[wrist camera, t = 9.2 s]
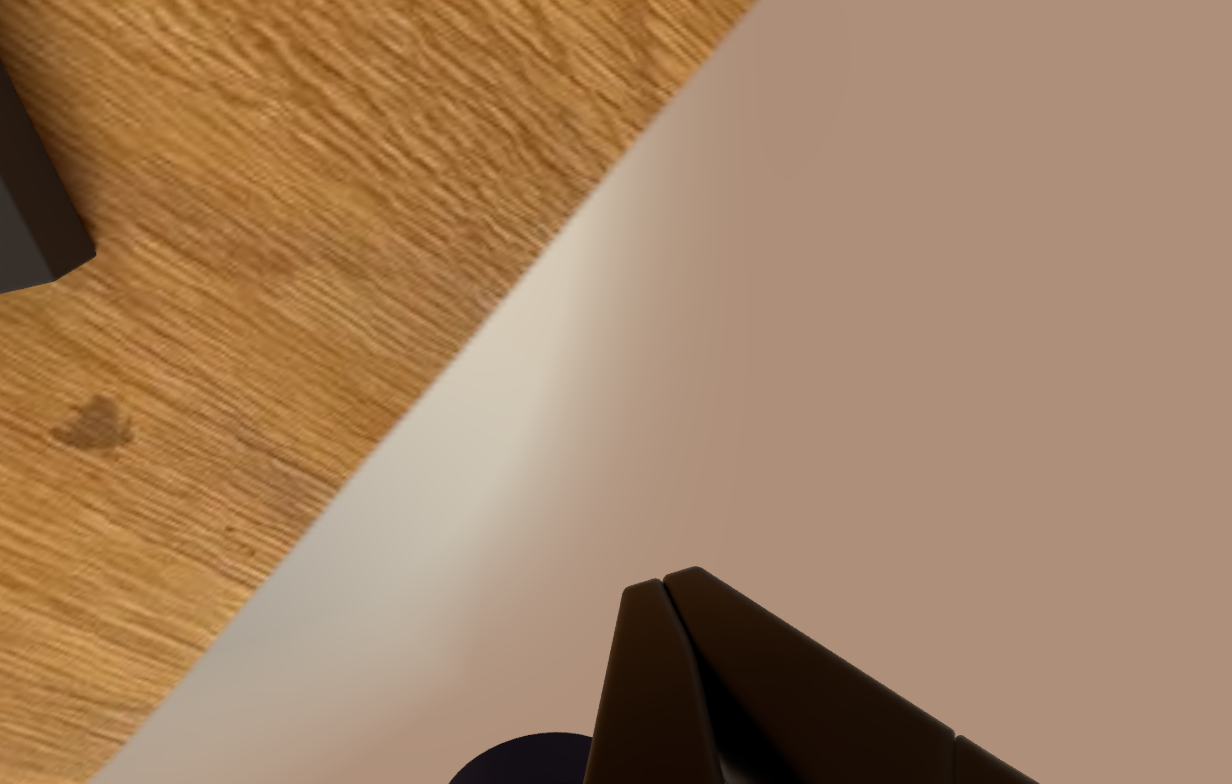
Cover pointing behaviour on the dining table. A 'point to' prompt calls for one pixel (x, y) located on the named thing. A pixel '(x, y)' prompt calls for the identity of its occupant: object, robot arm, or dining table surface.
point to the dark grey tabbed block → (33, 205)
